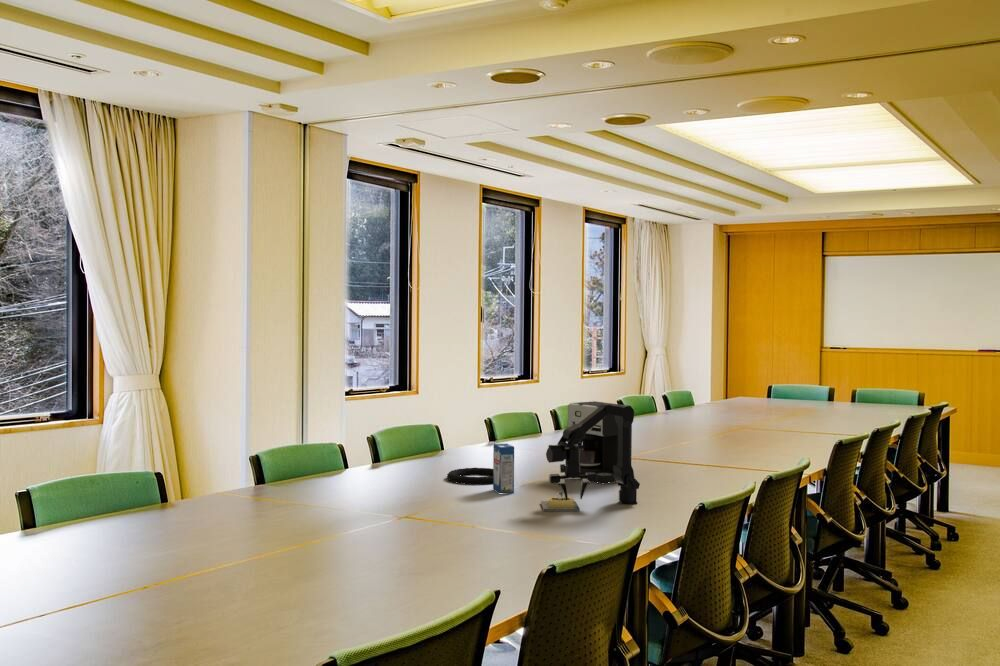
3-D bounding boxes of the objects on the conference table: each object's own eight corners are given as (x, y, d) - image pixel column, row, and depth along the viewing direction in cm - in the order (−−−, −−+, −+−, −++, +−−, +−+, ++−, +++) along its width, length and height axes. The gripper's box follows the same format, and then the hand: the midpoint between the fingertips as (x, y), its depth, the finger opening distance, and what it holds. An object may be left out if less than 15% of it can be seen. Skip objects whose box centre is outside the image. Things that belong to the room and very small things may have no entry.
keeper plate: (575, 503, 349) (575, 488, 348) (579, 511, 335) (579, 496, 334) (540, 503, 348) (540, 488, 348) (543, 511, 334) (543, 496, 334)
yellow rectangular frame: (572, 503, 345) (572, 497, 345) (574, 506, 338) (574, 500, 338) (547, 503, 344) (547, 497, 344) (548, 506, 338) (548, 500, 338)
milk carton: (513, 493, 368) (514, 446, 367) (500, 494, 366) (500, 447, 365) (506, 488, 377) (507, 443, 377) (493, 489, 375) (493, 443, 375)
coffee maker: (560, 475, 412) (561, 401, 411) (590, 471, 423) (591, 399, 423) (601, 484, 389) (602, 407, 388) (631, 479, 401) (632, 404, 400)
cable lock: (455, 465, 415) (516, 468, 409) (455, 473, 415) (516, 476, 410) (439, 475, 388) (505, 478, 382) (439, 484, 388) (505, 487, 382)
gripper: (592, 456, 350) (594, 494, 350) (547, 457, 349) (548, 496, 349) (597, 460, 338) (598, 500, 339) (549, 462, 338) (551, 502, 338)
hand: (573, 499), depth 341 cm, fingers open, 5 cm apart
